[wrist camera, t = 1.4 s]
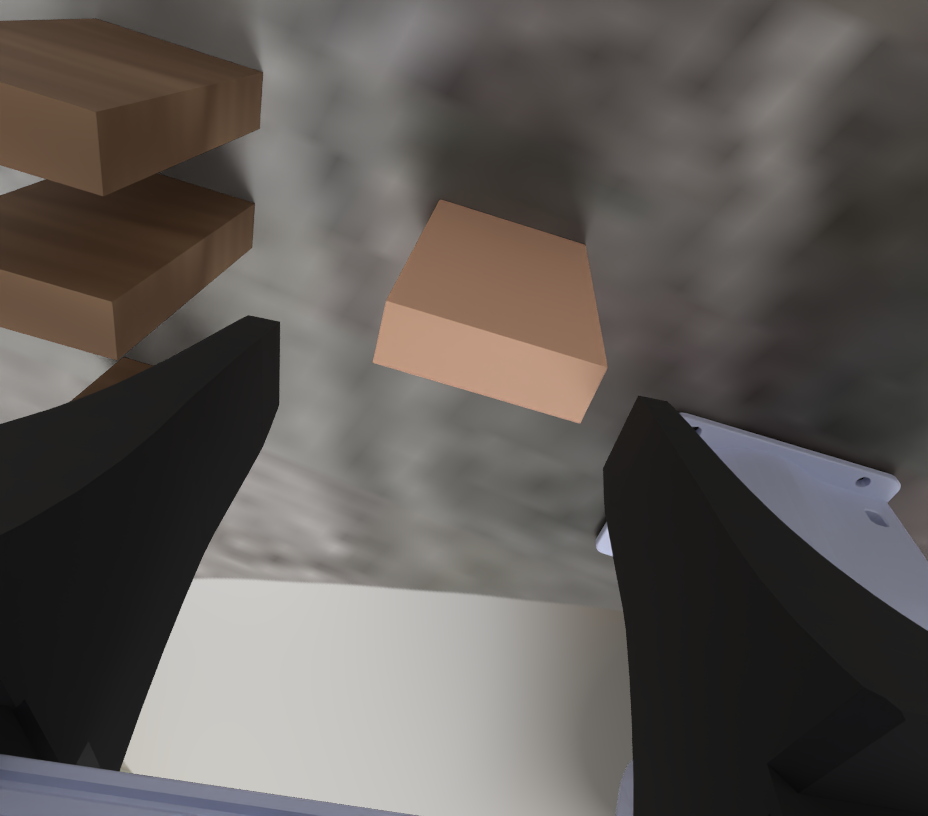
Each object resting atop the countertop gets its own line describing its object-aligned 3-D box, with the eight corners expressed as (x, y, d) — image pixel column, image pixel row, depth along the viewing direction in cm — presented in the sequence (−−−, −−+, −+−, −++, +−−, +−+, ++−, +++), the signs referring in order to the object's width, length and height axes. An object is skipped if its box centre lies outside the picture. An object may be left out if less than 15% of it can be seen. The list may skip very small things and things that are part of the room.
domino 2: (107, 158, 19) (-115, 235, 13) (254, 203, 20) (112, 302, 13) (110, 204, 20) (-94, 299, 14) (252, 247, 21) (117, 360, 14)
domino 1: (95, 18, 17) (-181, 25, 11) (263, 72, 17) (95, 112, 11) (100, 78, 18) (-152, 118, 12) (259, 128, 18) (103, 196, 12)
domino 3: (439, 199, 19) (386, 300, 12) (585, 244, 19) (607, 367, 13) (428, 245, 20) (372, 362, 13) (567, 288, 20) (580, 423, 14)
